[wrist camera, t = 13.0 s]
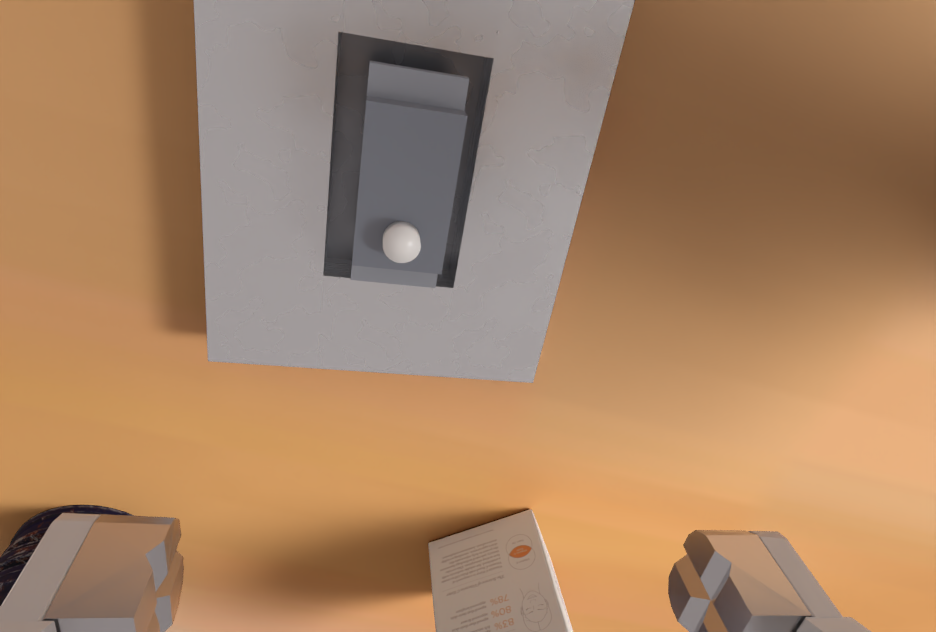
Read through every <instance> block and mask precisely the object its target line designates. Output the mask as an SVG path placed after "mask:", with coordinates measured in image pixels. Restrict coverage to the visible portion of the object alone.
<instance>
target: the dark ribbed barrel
mask: <svg viewBox="0 0 936 632" xmlns="http://www.w3.org/2000/svg"><path fill="white" fill-rule="evenodd" d="M62 513H75V514H98V515H102V514H107V515H127V516H133V515H131V514H128V513H126V512H123V511H120V510H116V509H113V508H108V507H102V506H93V505H71V506H63V507H58V508H54V509H50V510H47V511H45V512H42V513H40V514H37V515H36V516H34V517H32V518H31V519H29V520H28V521H27V522H25V523H24V524H23V525H22V526H21V527H20V529H19V530H18V531H17V533H16V534H15V536H14V537H13V539H12V541H11V543H10V546H9V547H8V548H7V549H6V550H5V552H4V553H3V554H2V556H1V557H0V606H1V605H2V603H3V602H4V600H5V598H6V597H7V595H8V593H9V592H10V590H11V588H12V587H13V585H14V584H15V582H16V580H17V579H18V577H19V575H20V574H21V572H22V570H23V569H24V567H25V565H26V564H27V562H28V561H29V559H30V557H31V556H32V554H33V552H34V551H35V549H36V547H37V546H38V544H39V543H40V541H41V539H42V538H43V536H44V534H45V533H46V531H47V529H48V528H49V526H50V525H51V523H52V522H53V521H54V520H55V519H56V518H58V517H59V516H60V515H61V514H62Z"/></svg>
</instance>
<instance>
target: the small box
mask: <svg viewBox="0 0 936 632" xmlns="http://www.w3.org/2000/svg"><path fill="white" fill-rule="evenodd" d="M428 547H429V560H430V571H431V584H432V596H433V607H434V617H435V627H436V632H573V629H572V626H571V623H570V620H569V616H568V613H567V610H566V606H565V603H564V600H563V597H562V594H561V590H560V587H559V584H558V580H557V577H556V574H555V571H554V567H553V564H552V561H551V558H550V556H549V553H548V550H547V548H546V545H545V542H544V540H543V537H542V534H541V532H540V529H539V526H538V524H537V521H536V518H535V516H534V513H533V511H532V510H531V509H529V510H526V511H523V512H520V513H517V514H514V515H511V516H508V517H505V518H502V519H499V520H496V521H493V522H490V523H487V524H484V525H481V526H478V527H475V528H472V529H469V530H466V531H463V532H460V533H457V534H454V535H451V536H448V537H445V538H442V539H439V540H436V541H433V542H430V543H429V544H428Z"/></svg>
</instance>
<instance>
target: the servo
mask: <svg viewBox="0 0 936 632" xmlns="http://www.w3.org/2000/svg"><path fill="white" fill-rule="evenodd" d="M468 85H469V78H468V77H466V76H460V75H454V74H448V73H442V72H436V71H430V70H424V69H418V68H412V67H406V66H400V65H394V64H388V63H382V62H376V61H370V64H369V76H368V87H367V98H366V109H365V121H364V132H363V143H362V155H361V166H360V178H359V189H358V200H357V212H356V223H355V234H354V246H353V257H352V269H351V280H357V281H367V282H378V283H388V284H398V285H409V286H419V287H429V288H436V282H437V276H438V274H442V269H443V262H444V256H445V250H446V244H447V238H448V232H449V226H450V220H451V214H452V208H453V202H454V196H455V190H456V184H457V178H458V172H459V166H460V160H461V154H462V148H463V142H464V136H465V129H466V123H467V117H468V116H467V114H466V113H465V111H464V110H465V103H466V97H467V91H468Z"/></svg>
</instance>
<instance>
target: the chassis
mask: <svg viewBox="0 0 936 632" xmlns="http://www.w3.org/2000/svg"><path fill="white" fill-rule="evenodd" d="M634 2H635V0H194V21H195V46H196V72H197V97H198V122H199V147H200V172H201V197H202V222H203V248H204V273H205V298H206V323H207V348H208V361H213V362H228V363H243V364H258V365H273V366H288V367H303V368H318V369H333V370H348V371H363V372H378V373H393V374H408V375H424V376H439V377H454V378H469V379H484V380H499V381H514V382H529V383H533V380H534V377H535V373H536V369H537V365H538V362H539V358H540V354H541V350H542V347H543V343H544V339H545V335H546V332H547V328H548V324H549V320H550V317H551V313H552V309H553V305H554V302H555V298H556V294H557V290H558V287H559V283H560V279H561V275H562V272H563V268H564V264H565V260H566V257H567V253H568V249H569V245H570V242H571V238H572V234H573V230H574V227H575V223H576V219H577V215H578V212H579V208H580V204H581V200H582V197H583V193H584V189H585V185H586V182H587V178H588V174H589V170H590V167H591V163H592V159H593V155H594V152H595V148H596V144H597V140H598V137H599V133H600V129H601V125H602V122H603V118H604V114H605V110H606V107H607V103H608V99H609V95H610V92H611V88H612V84H613V80H614V77H615V73H616V69H617V65H618V62H619V58H620V54H621V50H622V47H623V43H624V39H625V35H626V32H627V28H628V24H629V20H630V17H631V13H632V9H633V5H634ZM370 61H376V62H382V63H388V64H394V65H400V66H406V67H412V68H418V69H424V70H430V71H436V72H442V73H448V74H454V75H460V76H466V77H468V78H469V85H468V91H467V97H466V103H465V110H464V111H465V113H466V114H467V116H468V117H467V123H466V129H465V136H464V142H463V148H462V154H461V160H460V166H459V172H458V178H457V184H456V190H455V196H454V202H453V208H452V214H451V220H450V226H449V232H448V238H447V244H446V250H445V256H444V262H443V269H442V274H438V276H437V282H436V288H429V287H419V286H409V285H398V284H388V283H378V282H367V281H357V280H351V269H352V257H353V246H354V234H355V223H356V212H357V200H358V189H359V178H360V166H361V155H362V143H363V132H364V121H365V109H366V98H367V87H368V76H369V64H370Z"/></svg>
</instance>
